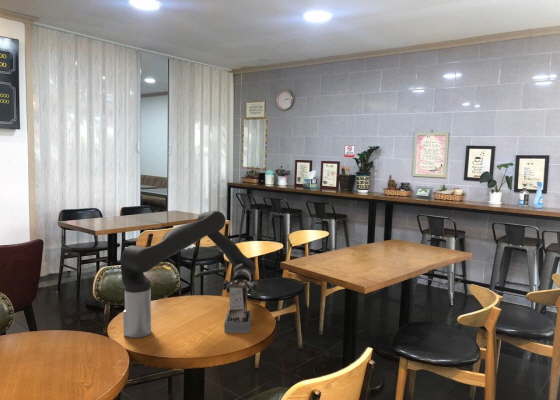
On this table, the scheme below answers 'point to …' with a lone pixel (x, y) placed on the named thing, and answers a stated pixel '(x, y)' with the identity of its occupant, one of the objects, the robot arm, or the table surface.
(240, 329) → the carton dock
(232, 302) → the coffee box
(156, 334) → the table surface
